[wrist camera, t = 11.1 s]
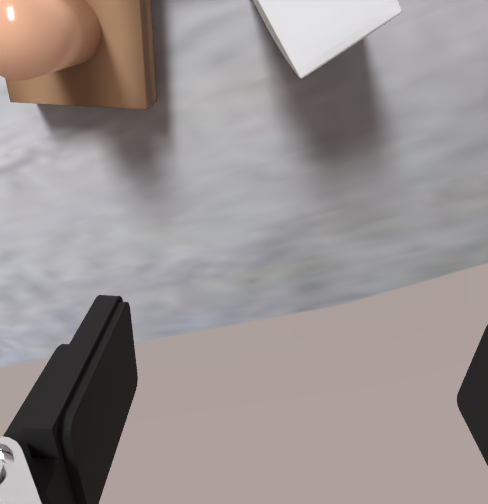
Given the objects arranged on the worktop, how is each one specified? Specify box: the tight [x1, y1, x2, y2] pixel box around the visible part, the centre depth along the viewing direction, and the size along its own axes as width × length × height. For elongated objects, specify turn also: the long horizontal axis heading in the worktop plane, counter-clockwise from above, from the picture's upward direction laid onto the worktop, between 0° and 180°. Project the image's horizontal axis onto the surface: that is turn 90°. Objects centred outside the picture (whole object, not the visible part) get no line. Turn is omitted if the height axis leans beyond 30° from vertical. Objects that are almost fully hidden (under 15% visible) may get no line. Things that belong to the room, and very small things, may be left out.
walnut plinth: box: [5, 0, 157, 109], centre depth 35 cm, size 12×12×4 cm
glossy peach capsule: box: [0, 0, 101, 81], centre depth 30 cm, size 5×5×9 cm
